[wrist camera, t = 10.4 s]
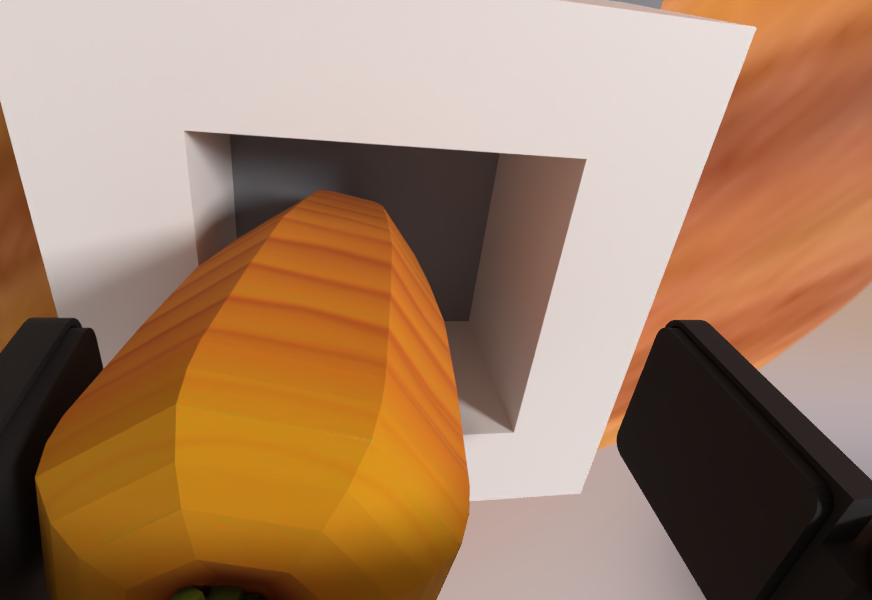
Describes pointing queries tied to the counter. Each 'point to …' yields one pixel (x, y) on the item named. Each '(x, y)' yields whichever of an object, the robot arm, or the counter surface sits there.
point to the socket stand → (386, 172)
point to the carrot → (269, 430)
